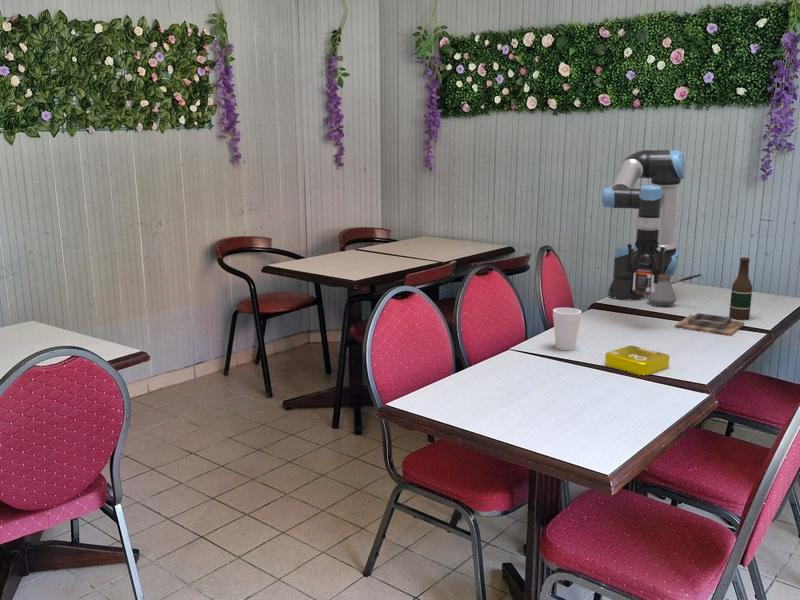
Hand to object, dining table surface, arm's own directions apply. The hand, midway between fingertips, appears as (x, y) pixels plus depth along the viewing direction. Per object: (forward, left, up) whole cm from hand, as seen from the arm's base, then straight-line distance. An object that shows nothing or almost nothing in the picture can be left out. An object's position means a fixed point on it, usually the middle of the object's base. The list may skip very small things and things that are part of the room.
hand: (643, 290), depth 278 cm
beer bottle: (+26, +38, -14) cm, 48 cm away
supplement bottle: (0, 0, -1) cm, 1 cm away
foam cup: (-12, -41, -14) cm, 45 cm away
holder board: (+20, +18, -14) cm, 30 cm away
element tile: (+15, -47, -15) cm, 51 cm away
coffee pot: (-1, +43, -15) cm, 45 cm away
